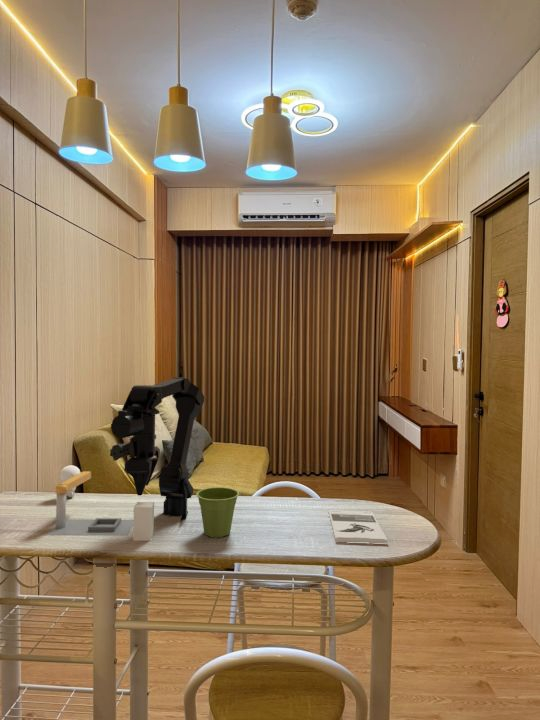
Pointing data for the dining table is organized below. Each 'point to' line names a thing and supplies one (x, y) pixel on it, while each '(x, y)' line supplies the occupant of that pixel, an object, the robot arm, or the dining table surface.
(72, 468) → the light bulb
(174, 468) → the robot arm
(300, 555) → the dining table surface
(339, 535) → the book
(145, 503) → the plug
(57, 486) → the bar
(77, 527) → the socket board
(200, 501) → the plant pot
